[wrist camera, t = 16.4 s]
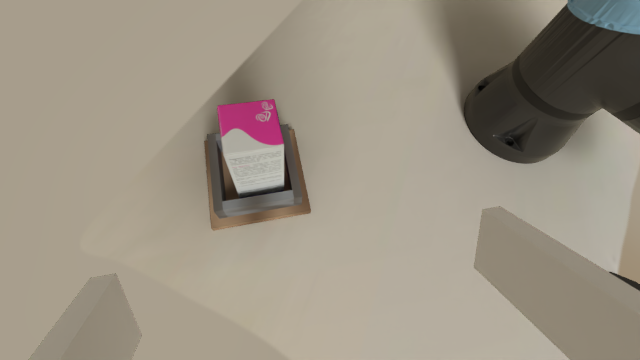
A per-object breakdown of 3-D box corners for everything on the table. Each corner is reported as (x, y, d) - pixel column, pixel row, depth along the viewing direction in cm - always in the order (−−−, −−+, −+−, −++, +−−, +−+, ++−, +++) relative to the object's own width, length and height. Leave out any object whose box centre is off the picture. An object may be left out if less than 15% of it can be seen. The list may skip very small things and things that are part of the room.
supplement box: (286, 191, 38) (285, 147, 28) (238, 200, 37) (219, 157, 27) (278, 151, 40) (274, 96, 30) (233, 158, 39) (212, 104, 29)
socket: (293, 133, 43) (294, 116, 39) (310, 213, 39) (312, 203, 35) (206, 144, 41) (198, 128, 37) (213, 230, 37) (204, 221, 33)
